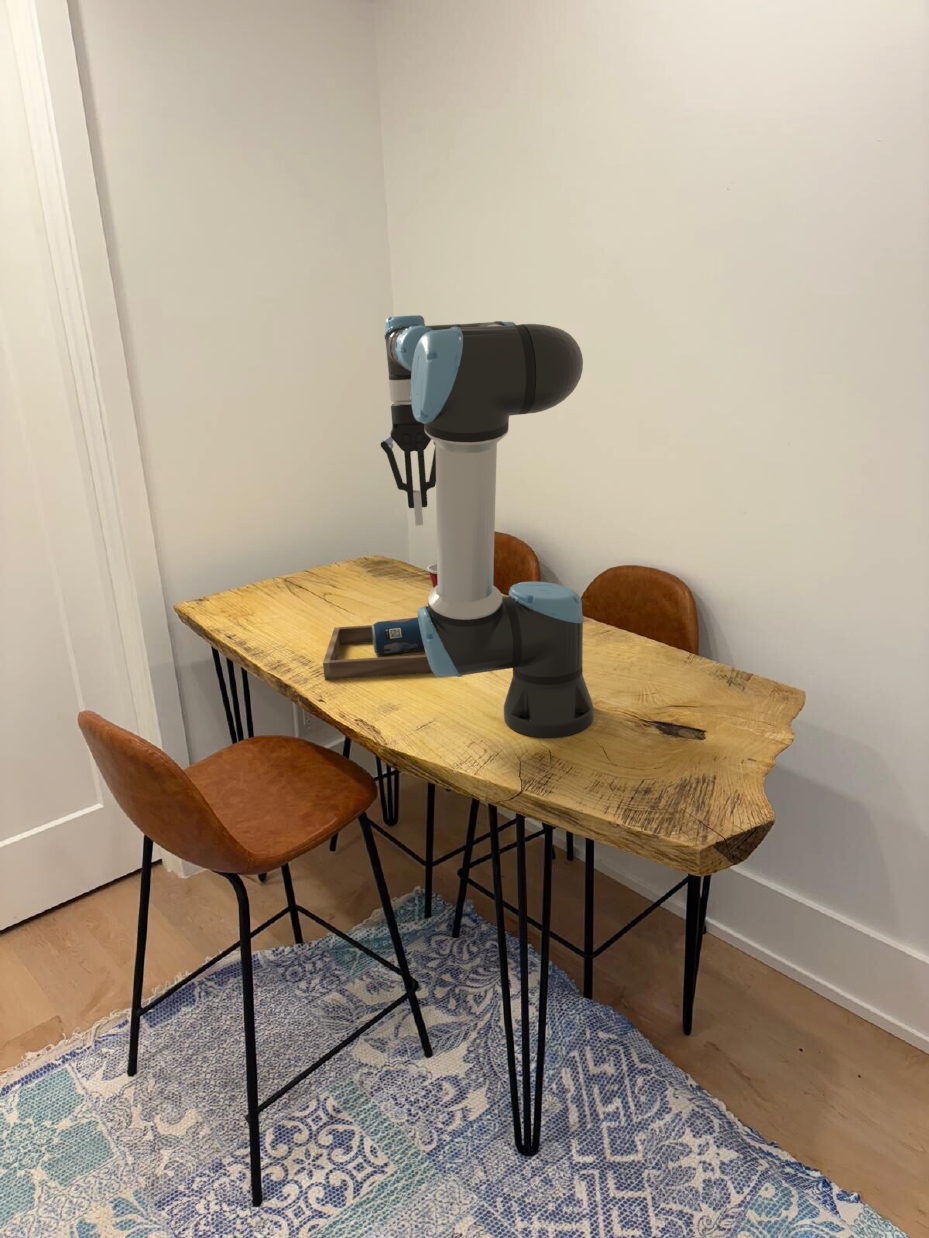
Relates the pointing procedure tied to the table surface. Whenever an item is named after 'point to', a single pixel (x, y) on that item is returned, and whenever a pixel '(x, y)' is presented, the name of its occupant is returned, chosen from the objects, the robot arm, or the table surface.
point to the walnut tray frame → (367, 665)
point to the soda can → (397, 636)
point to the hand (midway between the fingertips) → (419, 523)
